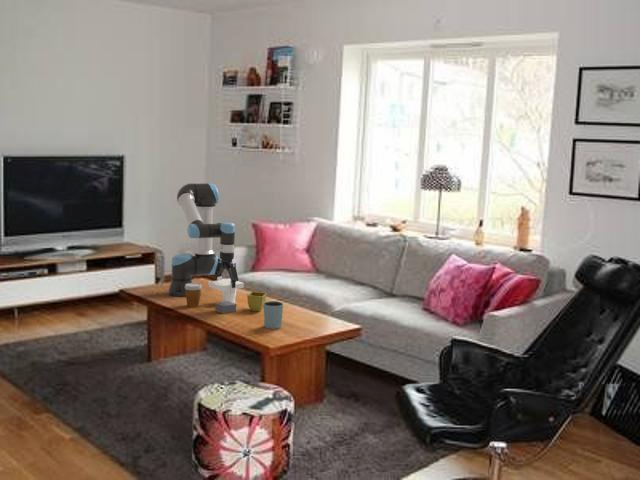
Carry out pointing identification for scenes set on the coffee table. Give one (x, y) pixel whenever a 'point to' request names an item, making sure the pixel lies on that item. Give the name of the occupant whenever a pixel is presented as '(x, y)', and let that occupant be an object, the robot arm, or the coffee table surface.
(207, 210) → the robot arm
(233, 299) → the foam cup
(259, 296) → the flower pot
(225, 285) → the lid
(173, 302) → the coffee table surface
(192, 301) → the disposable coffee cup
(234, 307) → the stand
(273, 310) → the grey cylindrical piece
